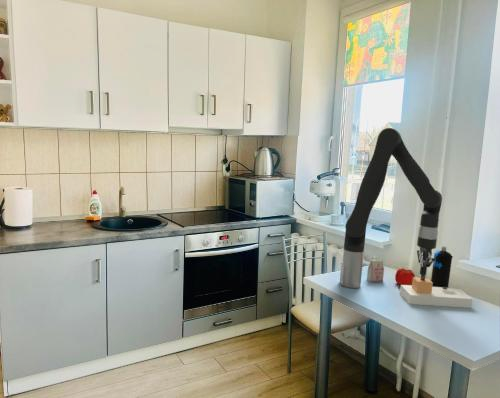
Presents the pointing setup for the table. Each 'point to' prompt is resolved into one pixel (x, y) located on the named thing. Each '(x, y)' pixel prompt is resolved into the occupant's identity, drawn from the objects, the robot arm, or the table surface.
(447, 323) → the table surface
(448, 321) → the table surface
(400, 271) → the tomato
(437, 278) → the aerosol can
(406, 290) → the block
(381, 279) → the small beige carton
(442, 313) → the table surface
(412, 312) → the table surface
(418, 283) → the plug
